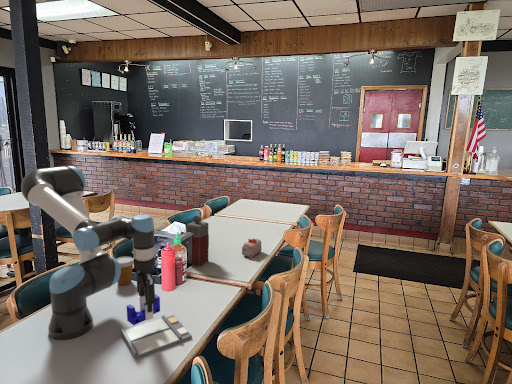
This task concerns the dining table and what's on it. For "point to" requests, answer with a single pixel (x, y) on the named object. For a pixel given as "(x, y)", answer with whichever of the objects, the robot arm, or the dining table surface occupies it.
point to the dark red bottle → (199, 240)
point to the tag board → (155, 336)
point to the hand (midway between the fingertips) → (146, 315)
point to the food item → (251, 248)
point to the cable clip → (141, 312)
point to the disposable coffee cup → (125, 270)
